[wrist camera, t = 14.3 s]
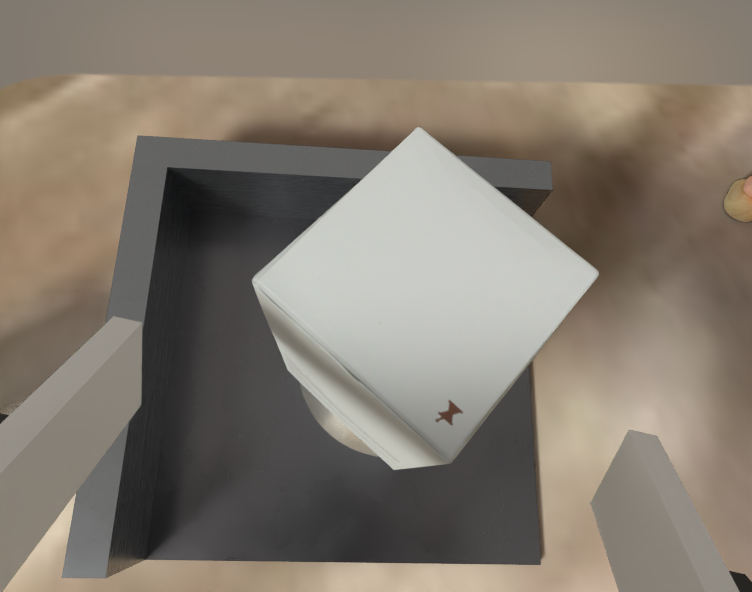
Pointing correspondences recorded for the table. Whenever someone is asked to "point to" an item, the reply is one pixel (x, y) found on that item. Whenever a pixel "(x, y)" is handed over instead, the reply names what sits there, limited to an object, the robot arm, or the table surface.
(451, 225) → the supplement box
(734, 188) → the grandmother figurine
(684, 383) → the table surface
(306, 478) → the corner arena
